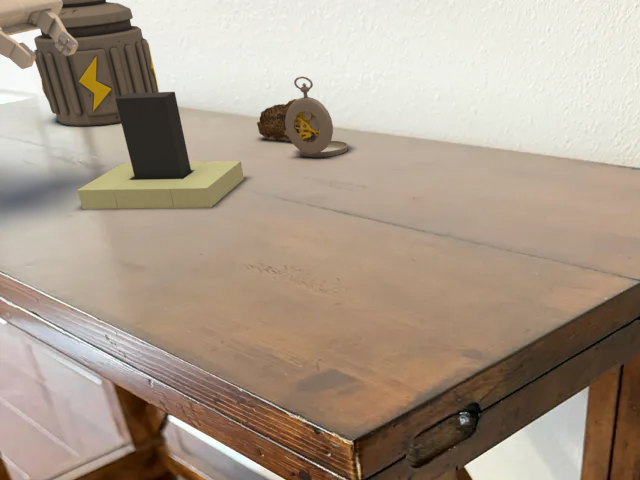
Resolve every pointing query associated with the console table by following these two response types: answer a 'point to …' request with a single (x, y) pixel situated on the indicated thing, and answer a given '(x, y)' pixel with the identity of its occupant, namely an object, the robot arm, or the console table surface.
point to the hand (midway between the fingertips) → (52, 56)
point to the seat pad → (162, 187)
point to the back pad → (154, 135)
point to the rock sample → (275, 122)
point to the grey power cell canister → (94, 63)
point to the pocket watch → (311, 126)
